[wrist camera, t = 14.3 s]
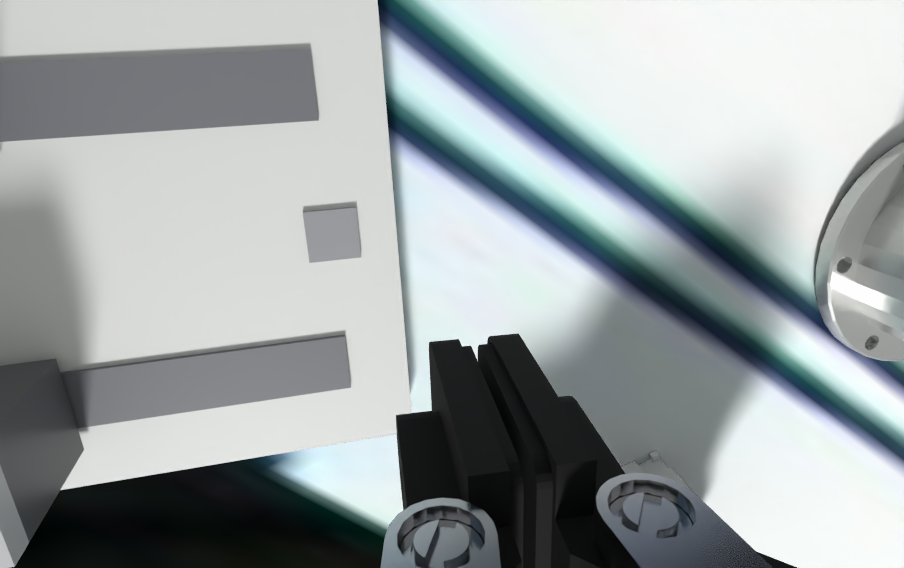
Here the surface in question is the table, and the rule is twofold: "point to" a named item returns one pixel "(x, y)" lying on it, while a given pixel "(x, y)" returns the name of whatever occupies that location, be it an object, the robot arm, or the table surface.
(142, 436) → the breaker panel
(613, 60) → the table surface
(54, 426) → the on handle
